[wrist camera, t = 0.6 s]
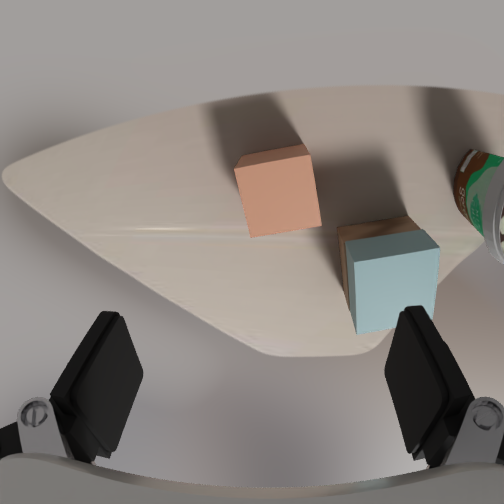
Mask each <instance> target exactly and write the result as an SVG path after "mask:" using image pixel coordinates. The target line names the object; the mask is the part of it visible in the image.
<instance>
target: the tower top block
mask: <svg viewBox="0 0 504 504" xmlns="http://www.w3.org/2000/svg"><path fill="white" fill-rule="evenodd" d="M345 244H346V256H347V270H348V285H349V303H350V312H351V316H352V319H353V323H354V327H355V330H356V334H357V335H358V334H364V333H369V332H375V331H380V330H385V329H390V328H395V327H396V325H397V321H398V317H399V313H400V312H401V311H404V309H405V307H407V306H416V305H422V306H423V307H424V308H425V310H426V312H427V313H428V315H429V317H430V318H431V320H432V318H433V311H434V304H435V296H436V288H437V279H438V269H439V257H440V247H439V246H438V245H437V244H436V243H435V241H434V240H433V239H432V238H431V237H430V236H429V235H428V234H427V233H426V232H425V231H424V230H423V229H421V230H415V231H408V232H402V233H396V234H389V235H383V236H377V237H370V238H364V239H358V240H351V241H345Z"/></svg>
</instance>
